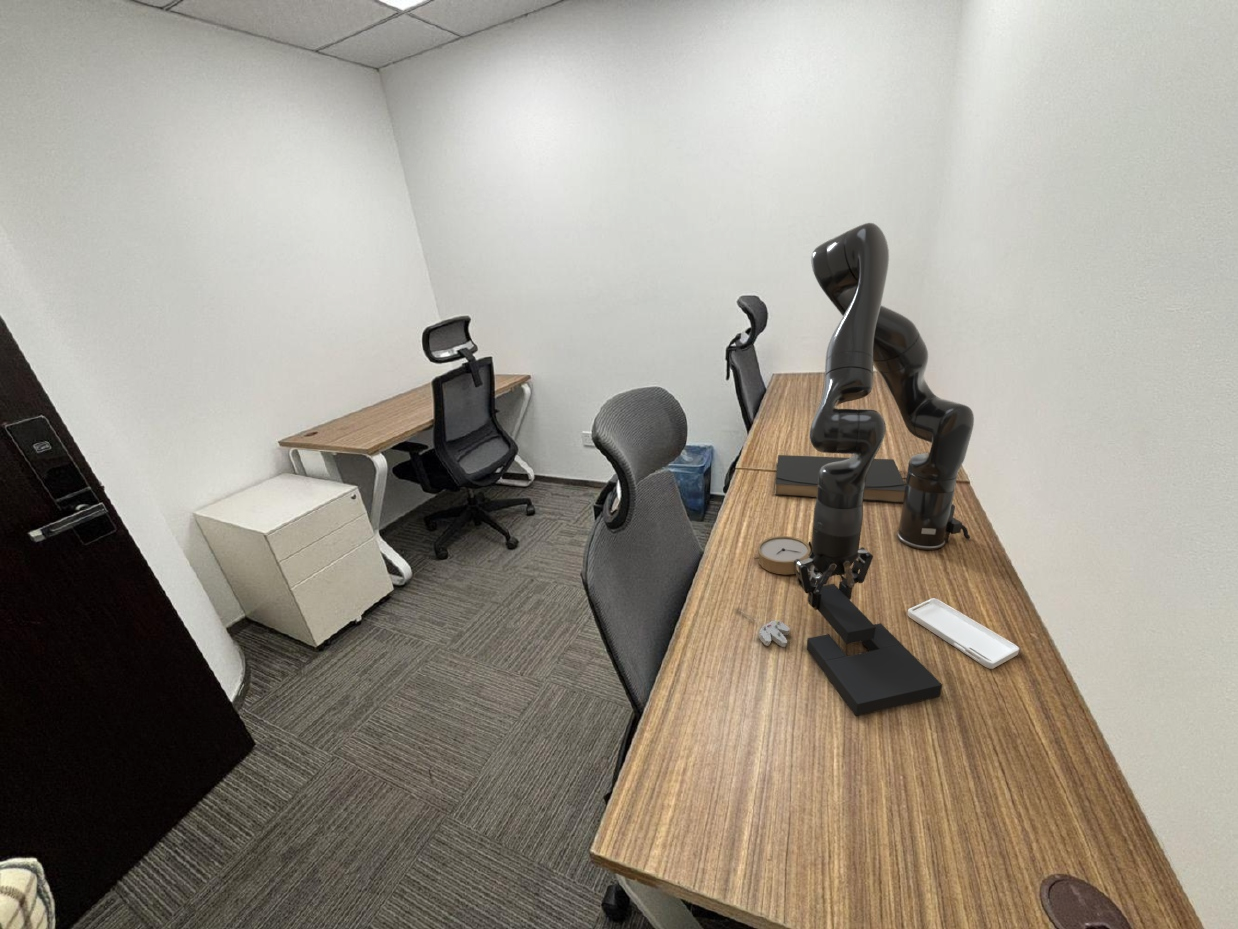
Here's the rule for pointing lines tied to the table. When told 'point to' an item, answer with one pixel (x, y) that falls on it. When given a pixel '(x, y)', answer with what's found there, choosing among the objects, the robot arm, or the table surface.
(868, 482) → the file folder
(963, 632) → the phone case
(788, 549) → the alarm clock
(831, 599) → the pad strip
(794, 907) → the table surface
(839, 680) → the notched pad
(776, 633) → the game controller
